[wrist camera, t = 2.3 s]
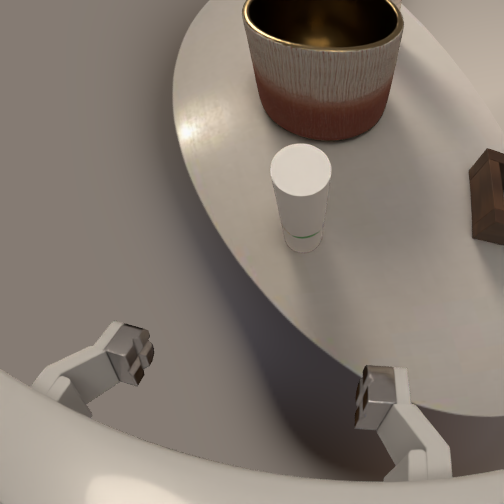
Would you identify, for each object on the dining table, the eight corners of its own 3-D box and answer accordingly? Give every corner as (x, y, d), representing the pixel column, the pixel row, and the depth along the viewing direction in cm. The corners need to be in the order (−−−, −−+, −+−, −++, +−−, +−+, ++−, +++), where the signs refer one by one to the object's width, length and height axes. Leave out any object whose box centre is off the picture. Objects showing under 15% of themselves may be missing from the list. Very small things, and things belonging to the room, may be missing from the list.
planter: (260, 59, 45) (243, -21, 30) (371, 57, 42) (381, -22, 27) (260, 148, 40) (235, 57, 25) (396, 146, 37) (427, 59, 22)
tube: (276, 238, 37) (258, 175, 22) (298, 209, 37) (292, 134, 23) (307, 260, 35) (309, 207, 21) (329, 230, 36) (342, 162, 22)
